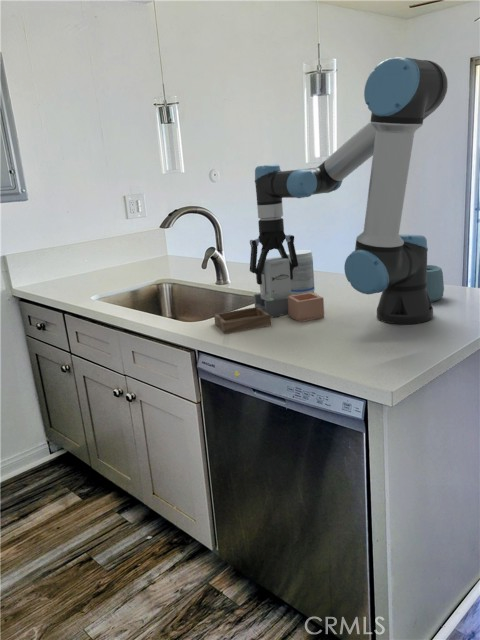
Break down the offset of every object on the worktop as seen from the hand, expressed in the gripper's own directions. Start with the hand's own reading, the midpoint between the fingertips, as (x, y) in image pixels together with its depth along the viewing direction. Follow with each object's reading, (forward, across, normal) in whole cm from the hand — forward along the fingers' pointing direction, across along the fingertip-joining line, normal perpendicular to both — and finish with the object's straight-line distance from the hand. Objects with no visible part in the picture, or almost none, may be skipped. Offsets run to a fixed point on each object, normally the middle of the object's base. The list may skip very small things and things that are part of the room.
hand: (275, 292), depth 163 cm
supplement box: (+2, 0, 0) cm, 2 cm away
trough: (+6, +14, +8) cm, 17 cm away
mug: (+6, -44, +13) cm, 46 cm away
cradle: (+6, 0, 0) cm, 6 cm away
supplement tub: (+6, -15, -16) cm, 23 cm away
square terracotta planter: (+6, -5, +11) cm, 14 cm away
